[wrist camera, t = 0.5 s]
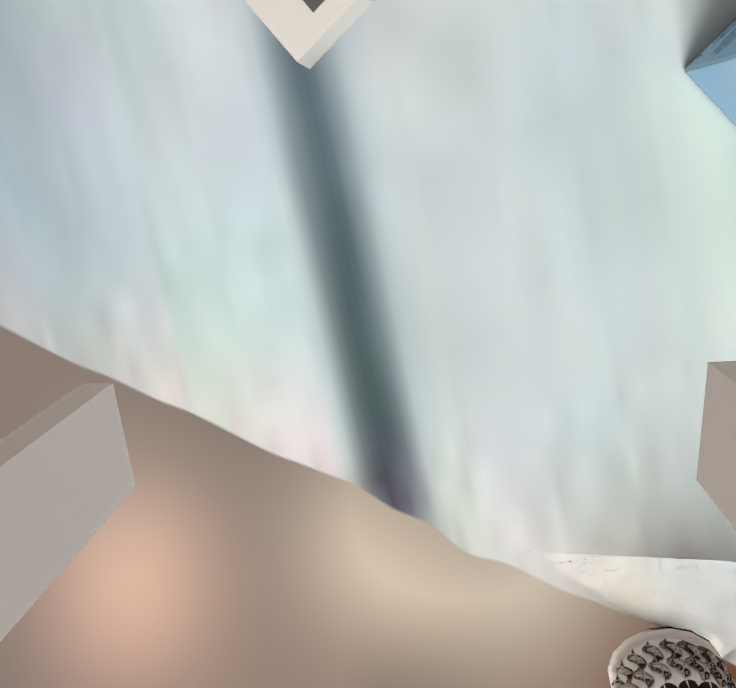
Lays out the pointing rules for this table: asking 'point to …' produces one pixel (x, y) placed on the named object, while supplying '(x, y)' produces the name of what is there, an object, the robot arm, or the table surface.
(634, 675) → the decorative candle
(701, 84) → the gum box
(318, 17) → the switch panel
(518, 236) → the table surface
